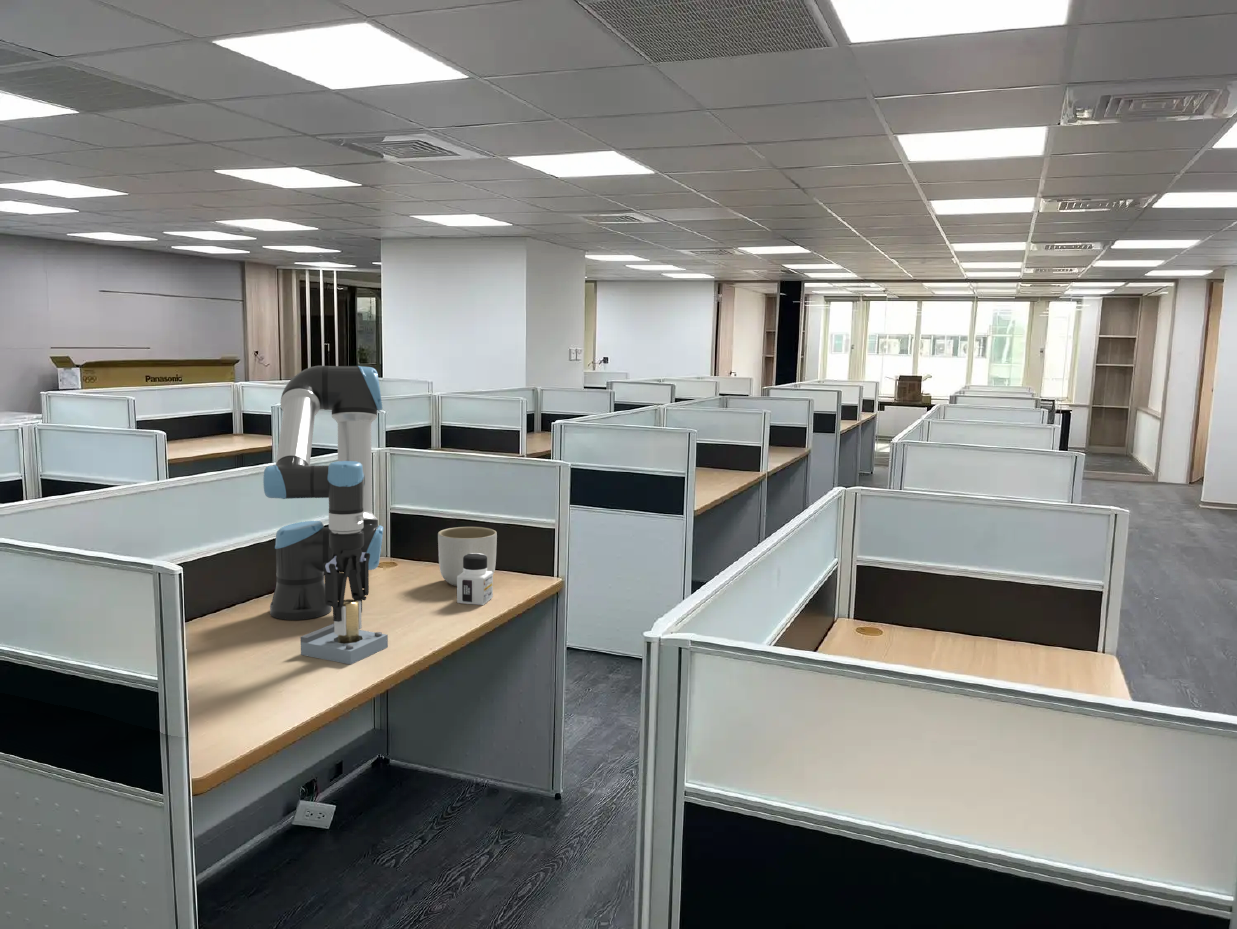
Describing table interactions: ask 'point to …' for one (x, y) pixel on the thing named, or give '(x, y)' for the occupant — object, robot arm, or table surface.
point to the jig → (341, 645)
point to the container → (475, 580)
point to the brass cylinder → (351, 622)
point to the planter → (464, 549)
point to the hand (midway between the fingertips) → (348, 631)
